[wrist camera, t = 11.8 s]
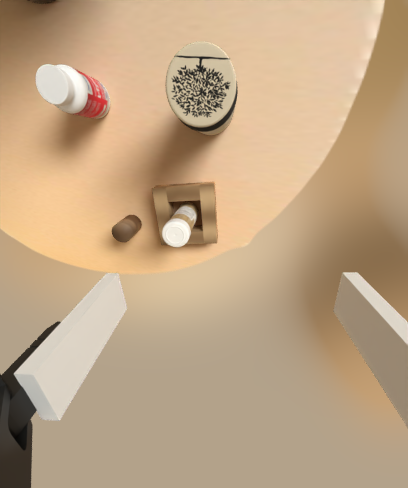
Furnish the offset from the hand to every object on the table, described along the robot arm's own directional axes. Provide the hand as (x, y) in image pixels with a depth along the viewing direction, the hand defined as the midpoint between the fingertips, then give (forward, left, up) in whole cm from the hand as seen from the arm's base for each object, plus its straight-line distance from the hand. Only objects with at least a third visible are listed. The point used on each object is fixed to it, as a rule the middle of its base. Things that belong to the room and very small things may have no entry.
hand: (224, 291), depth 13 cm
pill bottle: (-17, -23, -35) cm, 45 cm away
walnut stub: (+7, -21, -35) cm, 41 cm away
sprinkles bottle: (+5, -8, -35) cm, 36 cm away
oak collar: (+5, -8, -34) cm, 36 cm away
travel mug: (-14, -2, -35) cm, 37 cm away
